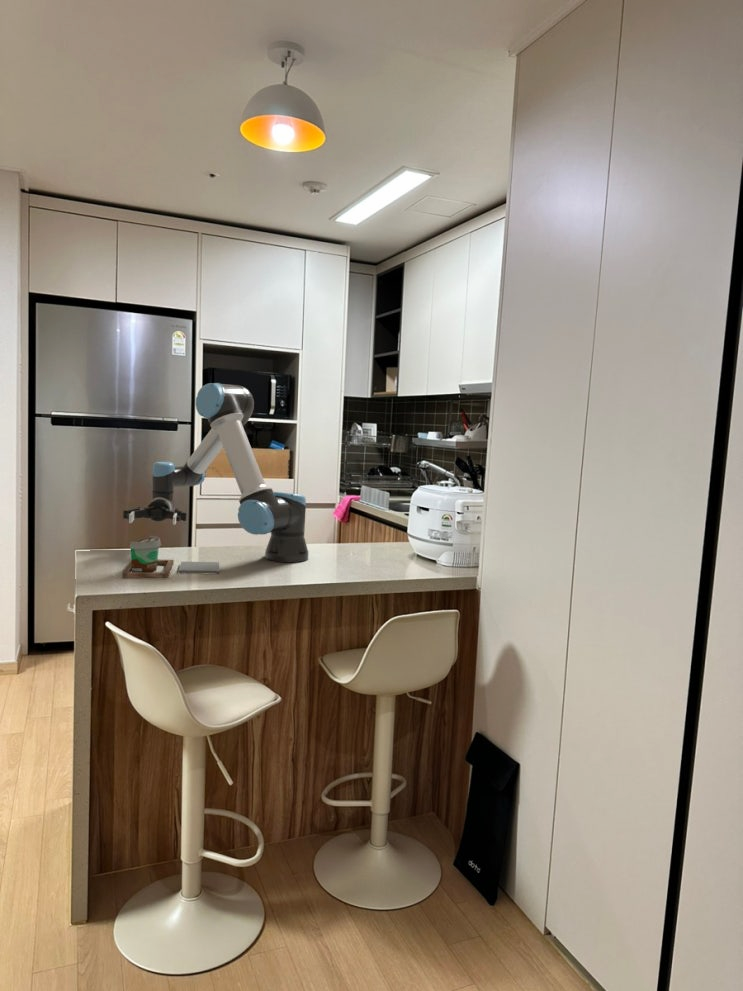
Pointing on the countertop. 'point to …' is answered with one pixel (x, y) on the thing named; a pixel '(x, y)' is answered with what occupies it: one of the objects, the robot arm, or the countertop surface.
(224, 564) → the countertop surface
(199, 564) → the plate
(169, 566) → the walnut holder
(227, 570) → the countertop surface
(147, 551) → the food container
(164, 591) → the countertop surface
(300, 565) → the countertop surface
